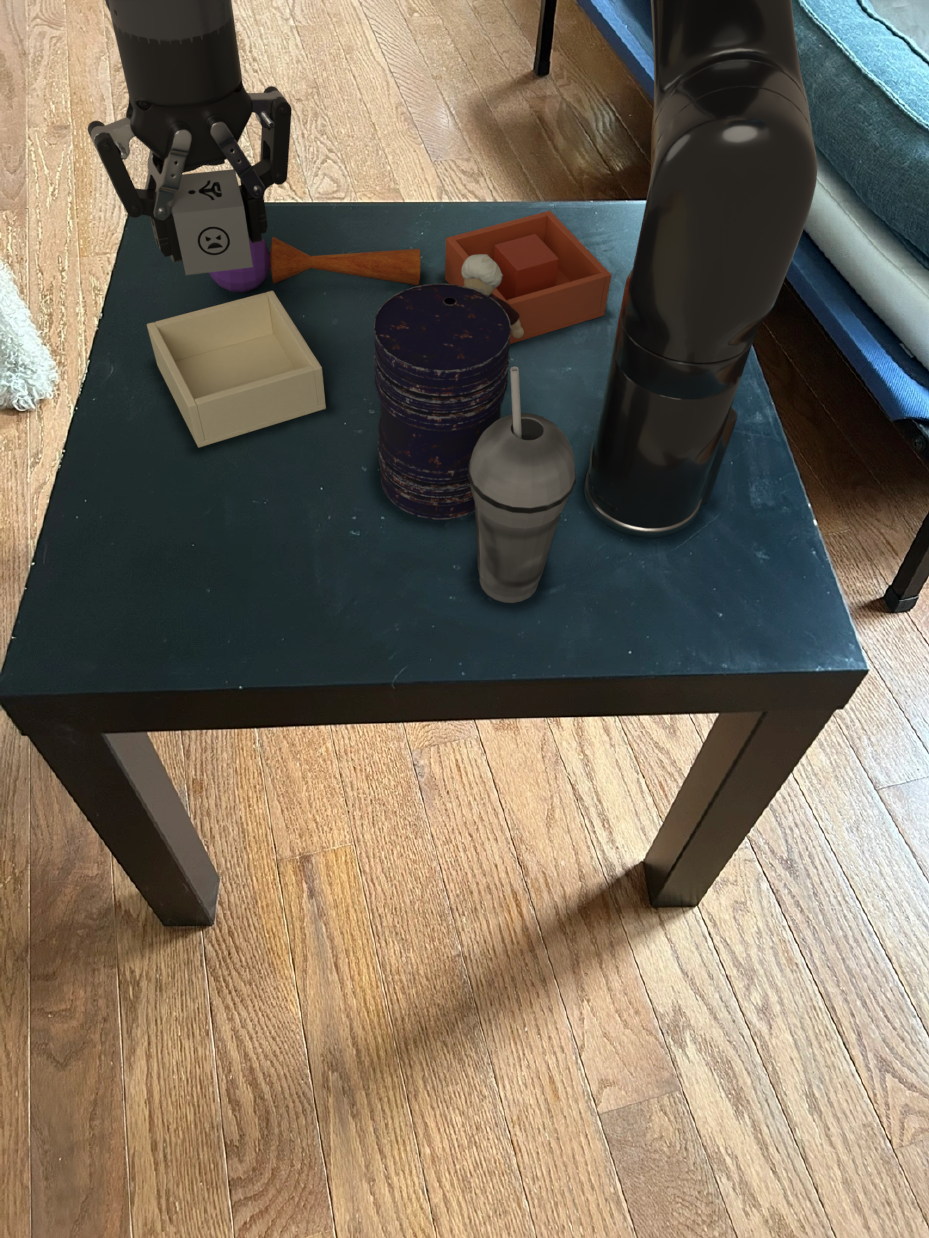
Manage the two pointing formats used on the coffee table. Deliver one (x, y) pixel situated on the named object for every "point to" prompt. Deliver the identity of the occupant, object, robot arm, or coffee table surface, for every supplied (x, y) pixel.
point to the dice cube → (211, 223)
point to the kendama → (318, 265)
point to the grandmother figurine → (489, 285)
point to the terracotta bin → (576, 280)
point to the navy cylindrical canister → (437, 392)
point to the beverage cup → (518, 498)
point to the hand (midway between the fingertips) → (214, 245)
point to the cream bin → (237, 367)
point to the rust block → (525, 266)
